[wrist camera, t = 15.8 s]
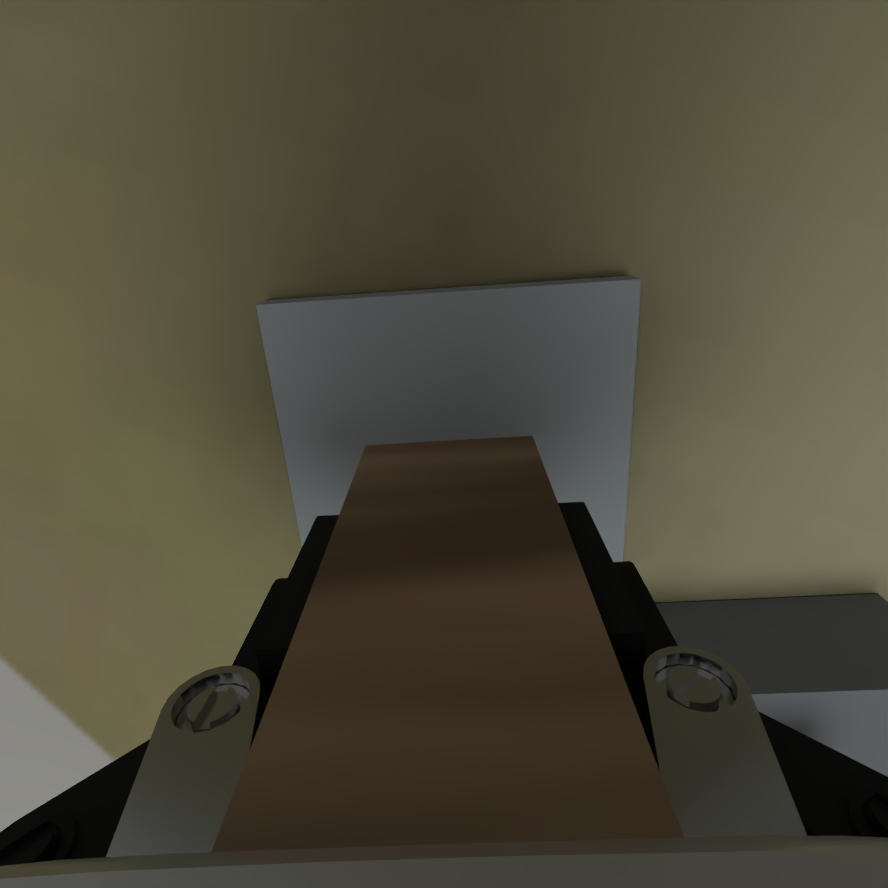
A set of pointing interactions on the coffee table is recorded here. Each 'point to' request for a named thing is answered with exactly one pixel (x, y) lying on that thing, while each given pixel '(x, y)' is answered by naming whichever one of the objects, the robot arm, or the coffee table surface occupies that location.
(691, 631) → the switch housing
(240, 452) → the coffee table surface
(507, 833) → the long brown rectangular block
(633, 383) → the mat
